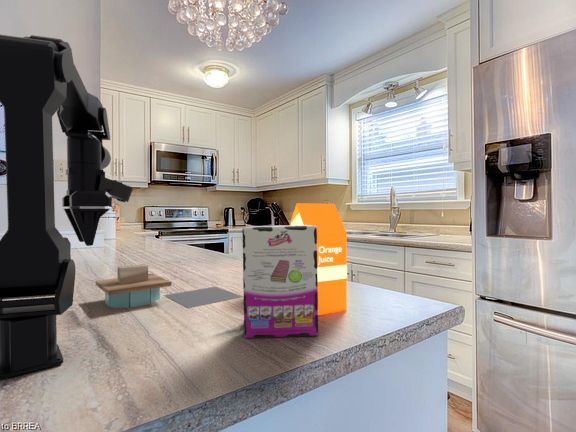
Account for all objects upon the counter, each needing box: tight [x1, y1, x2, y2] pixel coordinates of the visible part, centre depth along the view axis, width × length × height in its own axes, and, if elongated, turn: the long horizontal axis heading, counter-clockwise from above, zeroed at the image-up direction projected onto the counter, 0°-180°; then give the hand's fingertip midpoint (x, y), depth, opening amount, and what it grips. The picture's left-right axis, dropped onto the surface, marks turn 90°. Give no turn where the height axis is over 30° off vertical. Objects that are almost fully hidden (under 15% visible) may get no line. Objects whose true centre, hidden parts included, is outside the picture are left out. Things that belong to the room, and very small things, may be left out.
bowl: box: [104, 288, 161, 309], centre depth 65 cm, size 9×9×4 cm
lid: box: [95, 263, 173, 295], centre depth 65 cm, size 11×11×4 cm
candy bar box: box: [242, 224, 319, 339], centre depth 51 cm, size 11×5×16 cm, turn 94°
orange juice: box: [289, 202, 348, 316], centre depth 63 cm, size 8×9×20 cm
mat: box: [163, 286, 244, 309], centre depth 68 cm, size 12×12×1 cm
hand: (85, 243), depth 65 cm, fingers open, 9 cm apart
